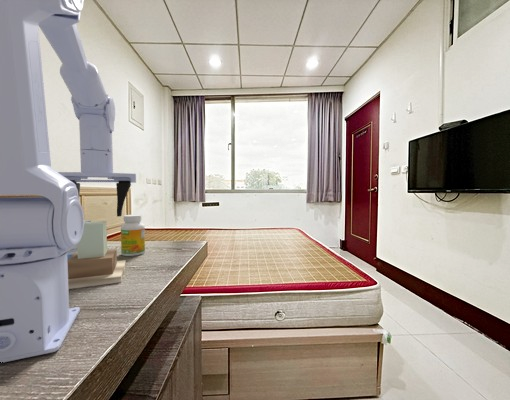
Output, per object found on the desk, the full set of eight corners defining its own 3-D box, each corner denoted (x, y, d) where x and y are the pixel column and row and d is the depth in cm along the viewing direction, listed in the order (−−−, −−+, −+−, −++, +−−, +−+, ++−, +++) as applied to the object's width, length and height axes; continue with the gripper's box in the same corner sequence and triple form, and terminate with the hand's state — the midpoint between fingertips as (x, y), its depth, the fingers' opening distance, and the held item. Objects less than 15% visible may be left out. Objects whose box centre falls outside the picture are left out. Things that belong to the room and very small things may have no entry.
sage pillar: (103, 256, 46) (102, 223, 46) (77, 258, 44) (76, 225, 44) (107, 251, 50) (106, 221, 49) (83, 253, 48) (82, 222, 48)
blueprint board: (121, 282, 44) (120, 259, 44) (50, 291, 40) (49, 266, 40) (126, 264, 54) (125, 246, 54) (69, 270, 50) (69, 250, 50)
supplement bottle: (117, 256, 60) (116, 216, 60) (126, 251, 66) (125, 214, 65) (140, 256, 61) (139, 216, 61) (148, 250, 66) (147, 214, 66)
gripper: (136, 155, 59) (137, 213, 60) (60, 152, 53) (62, 216, 54) (134, 151, 53) (136, 216, 53) (48, 147, 47) (51, 220, 48)
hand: (98, 216), depth 53 cm, fingers open, 7 cm apart
